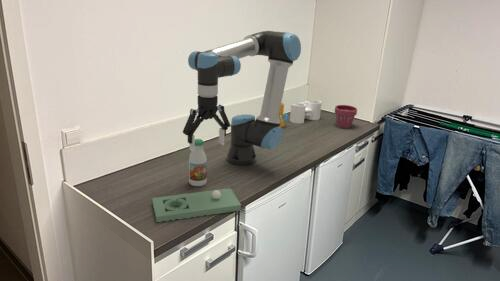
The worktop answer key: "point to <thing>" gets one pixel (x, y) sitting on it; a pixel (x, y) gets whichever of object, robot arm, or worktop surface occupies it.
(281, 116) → the orange blue toy
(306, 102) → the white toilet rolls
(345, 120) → the plant pot
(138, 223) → the worktop surface
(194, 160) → the milk bottle
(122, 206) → the worktop surface
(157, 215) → the plate
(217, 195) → the ball
